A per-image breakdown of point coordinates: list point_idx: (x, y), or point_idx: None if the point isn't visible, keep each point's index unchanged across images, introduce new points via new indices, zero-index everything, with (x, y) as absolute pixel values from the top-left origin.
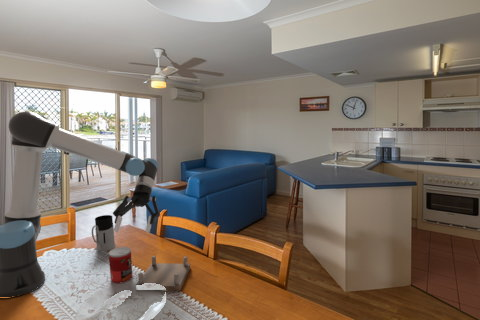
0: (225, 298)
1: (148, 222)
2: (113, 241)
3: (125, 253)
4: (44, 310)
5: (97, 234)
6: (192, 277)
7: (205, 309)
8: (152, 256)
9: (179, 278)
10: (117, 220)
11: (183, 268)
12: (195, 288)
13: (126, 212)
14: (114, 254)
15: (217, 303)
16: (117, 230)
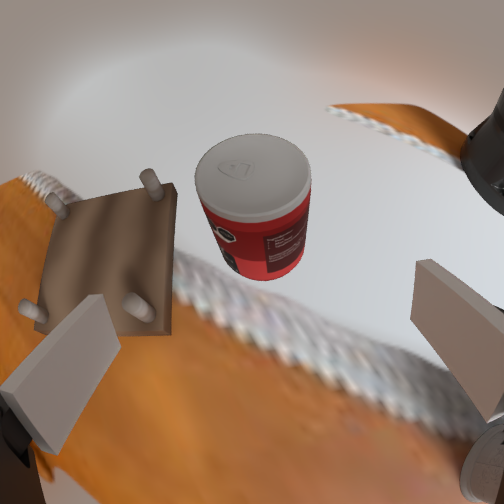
0: (3, 215)
1: (54, 334)
2: (479, 484)
3: (206, 156)
4: (361, 112)
5: None
6: (39, 281)
7: (35, 179)
8: (137, 306)
9: (58, 238)
10: (484, 305)
11: (48, 296)
12: (38, 233)
13: (497, 502)
14: (265, 151)
15: (16, 199)
16: (417, 304)
